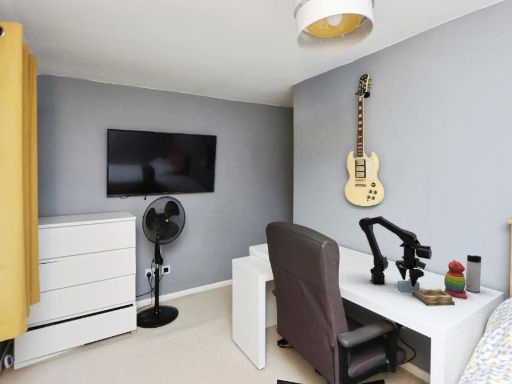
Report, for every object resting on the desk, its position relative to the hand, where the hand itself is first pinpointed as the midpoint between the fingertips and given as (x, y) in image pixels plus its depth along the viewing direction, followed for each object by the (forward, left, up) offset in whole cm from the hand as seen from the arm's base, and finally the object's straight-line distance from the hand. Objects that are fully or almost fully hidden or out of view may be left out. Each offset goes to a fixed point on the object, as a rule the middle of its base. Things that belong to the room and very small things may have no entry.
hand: (408, 283), depth 161 cm
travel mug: (+34, -3, -4) cm, 34 cm away
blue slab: (0, 0, -4) cm, 4 cm away
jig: (+6, -12, -4) cm, 14 cm away
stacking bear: (+22, -6, -4) cm, 23 cm away
